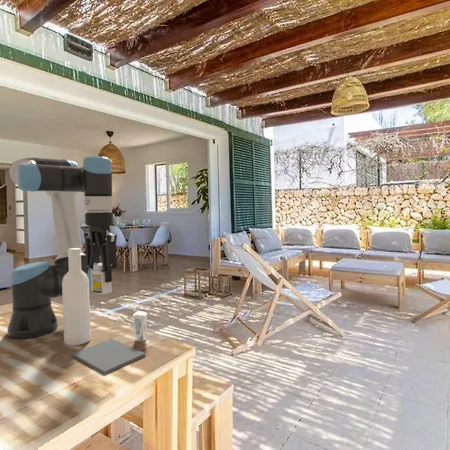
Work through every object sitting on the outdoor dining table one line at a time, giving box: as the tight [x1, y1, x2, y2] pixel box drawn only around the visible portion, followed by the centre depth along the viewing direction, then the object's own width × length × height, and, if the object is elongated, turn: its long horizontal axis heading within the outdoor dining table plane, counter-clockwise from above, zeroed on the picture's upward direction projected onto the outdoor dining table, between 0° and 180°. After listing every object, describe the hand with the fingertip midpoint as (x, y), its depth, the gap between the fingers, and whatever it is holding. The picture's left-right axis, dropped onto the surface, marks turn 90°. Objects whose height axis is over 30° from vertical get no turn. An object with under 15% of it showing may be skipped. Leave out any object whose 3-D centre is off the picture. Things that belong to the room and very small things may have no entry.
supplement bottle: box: [92, 262, 103, 295], centre depth 96 cm, size 5×5×8 cm
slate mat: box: [71, 338, 146, 375], centre depth 96 cm, size 17×13×1 cm
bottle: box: [62, 248, 92, 347], centre depth 106 cm, size 8×8×30 cm
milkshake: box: [132, 309, 150, 343], centre depth 107 cm, size 4×5×10 cm
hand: (101, 291), depth 96 cm, fingers closed on supplement bottle, 5 cm apart
